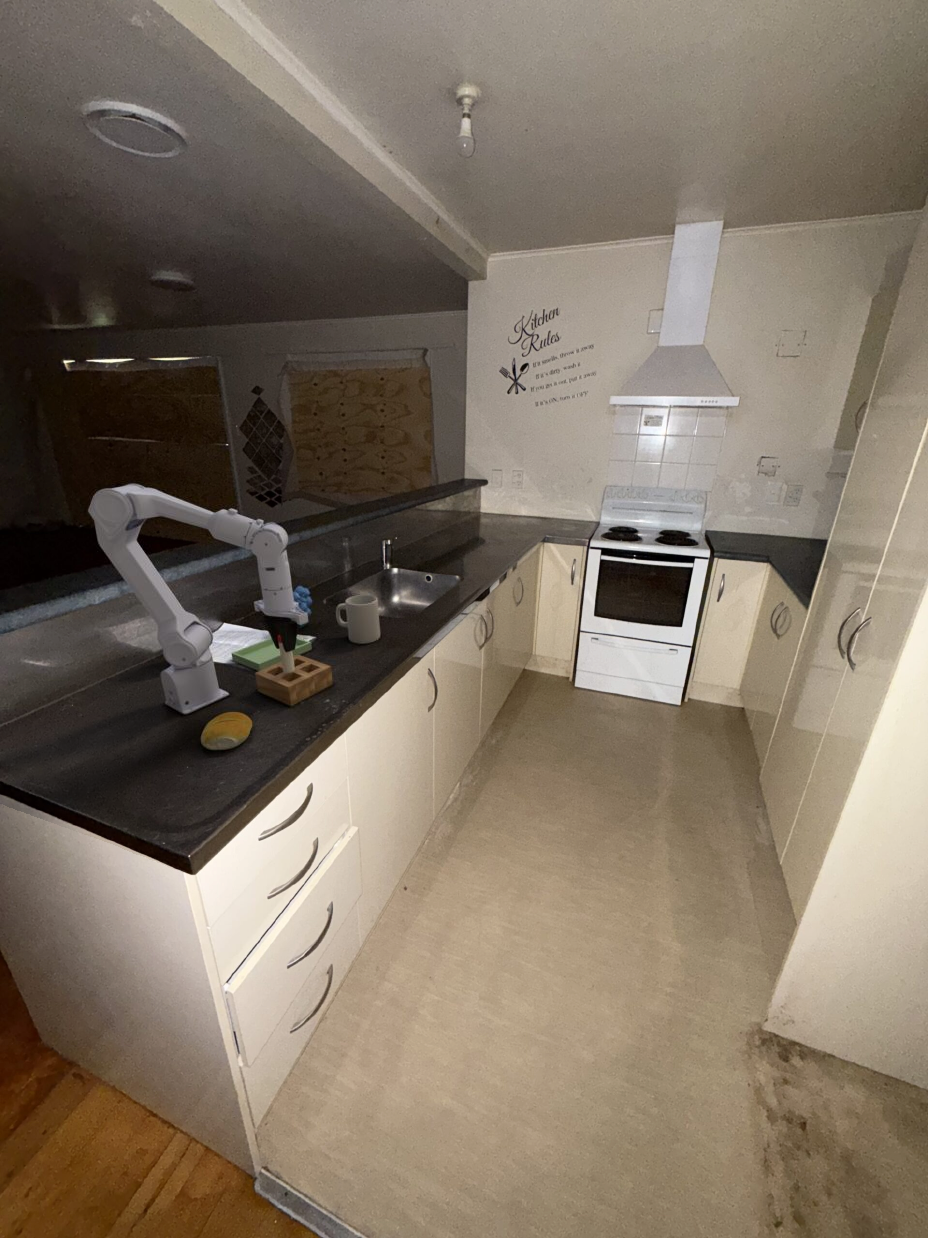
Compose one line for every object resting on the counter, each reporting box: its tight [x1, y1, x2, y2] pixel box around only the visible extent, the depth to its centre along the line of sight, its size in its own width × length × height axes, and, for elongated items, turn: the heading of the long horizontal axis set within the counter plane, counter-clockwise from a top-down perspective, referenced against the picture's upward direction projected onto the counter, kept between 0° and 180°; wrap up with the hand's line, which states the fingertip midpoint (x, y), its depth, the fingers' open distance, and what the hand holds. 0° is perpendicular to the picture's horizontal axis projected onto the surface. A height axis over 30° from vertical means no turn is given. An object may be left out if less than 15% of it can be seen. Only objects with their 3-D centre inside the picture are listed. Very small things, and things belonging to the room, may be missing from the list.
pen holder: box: [254, 654, 334, 707], centre depth 106 cm, size 11×11×4 cm
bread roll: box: [200, 711, 253, 751], centre depth 89 cm, size 8×9×4 cm
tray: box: [231, 637, 313, 672], centre depth 122 cm, size 15×11×2 cm
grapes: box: [293, 585, 313, 630], centre depth 138 cm, size 12×7×12 cm, turn 168°
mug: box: [335, 594, 381, 645], centre depth 131 cm, size 12×8×11 cm
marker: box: [277, 635, 295, 673], centre depth 101 cm, size 2×2×8 cm
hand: (285, 648), depth 101 cm, fingers closed on marker, 2 cm apart
